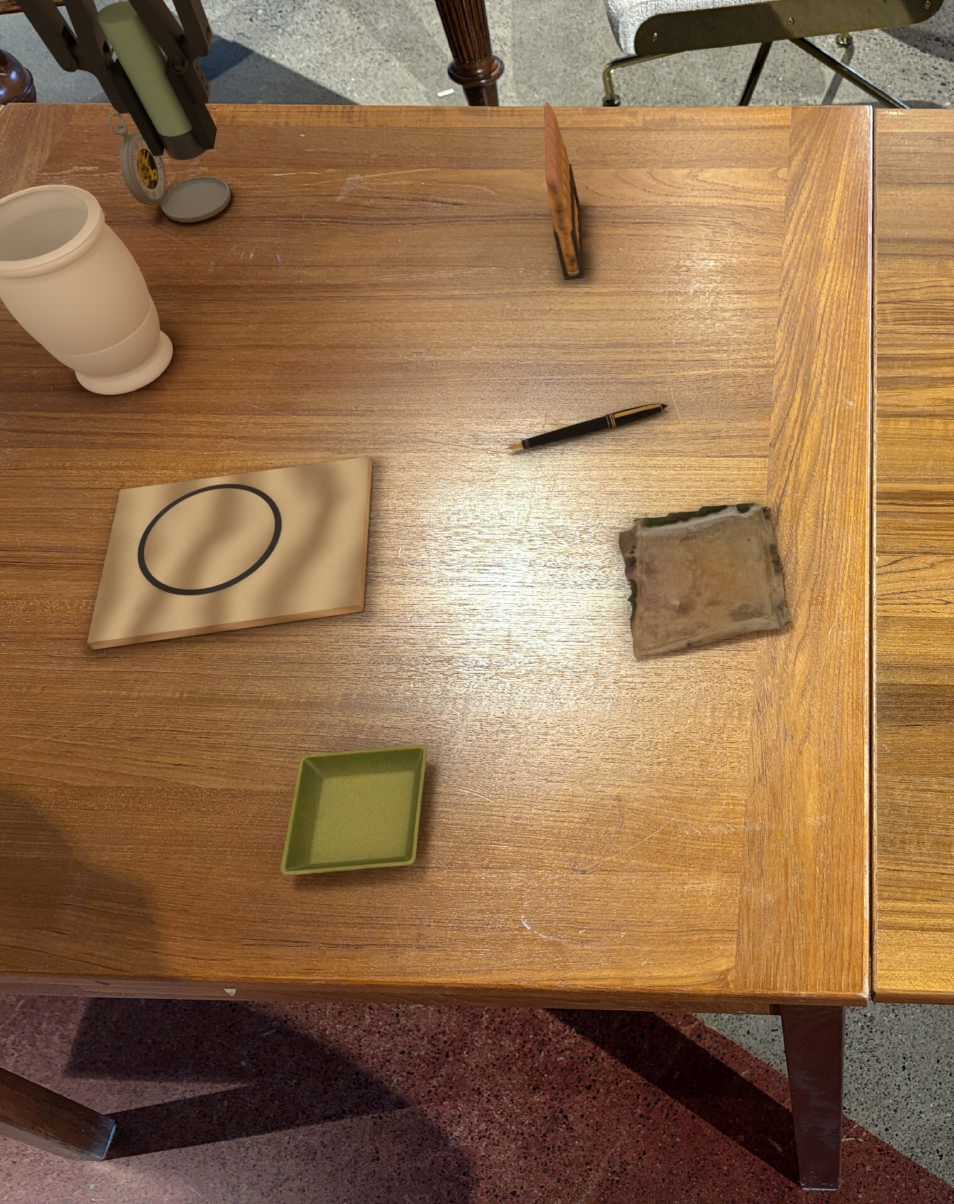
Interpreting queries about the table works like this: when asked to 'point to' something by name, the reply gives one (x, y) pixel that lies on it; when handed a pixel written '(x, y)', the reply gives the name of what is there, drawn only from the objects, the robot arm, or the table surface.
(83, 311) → the jar
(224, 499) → the sketch board
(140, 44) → the marker
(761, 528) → the parchment
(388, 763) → the olive green square tray
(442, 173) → the table surface
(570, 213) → the brown thin upright slab
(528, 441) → the fountain pen
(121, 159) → the pocket watch
